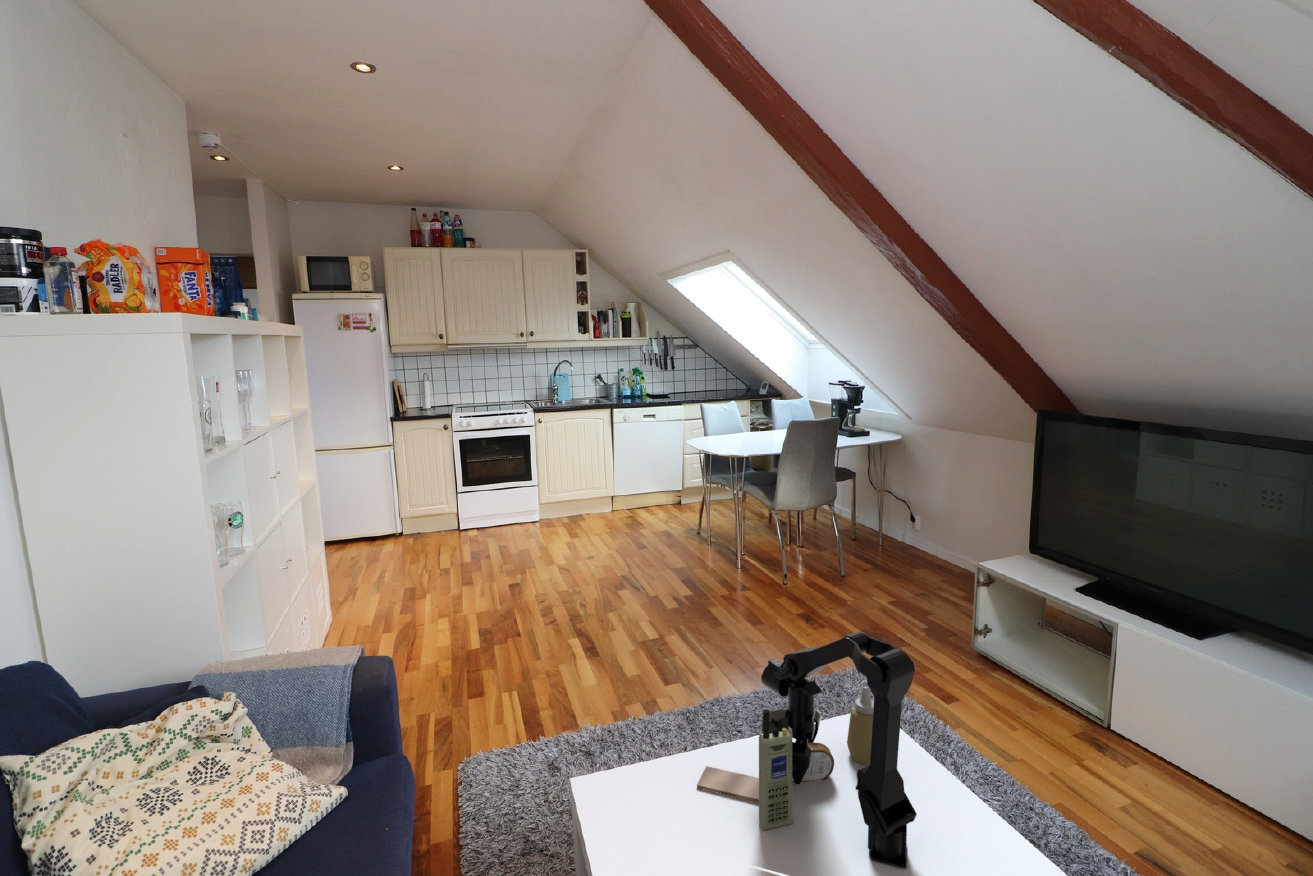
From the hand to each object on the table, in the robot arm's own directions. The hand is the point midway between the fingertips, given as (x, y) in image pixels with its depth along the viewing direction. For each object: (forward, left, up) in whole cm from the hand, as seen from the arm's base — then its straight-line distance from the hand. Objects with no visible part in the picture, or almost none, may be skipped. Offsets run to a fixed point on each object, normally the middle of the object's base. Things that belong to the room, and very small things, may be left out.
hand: (800, 771), depth 141 cm
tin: (0, 0, -2) cm, 2 cm away
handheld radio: (+3, +15, -3) cm, 15 cm away
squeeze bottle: (-13, -13, -3) cm, 19 cm away
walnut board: (+13, +7, -3) cm, 15 cm away
